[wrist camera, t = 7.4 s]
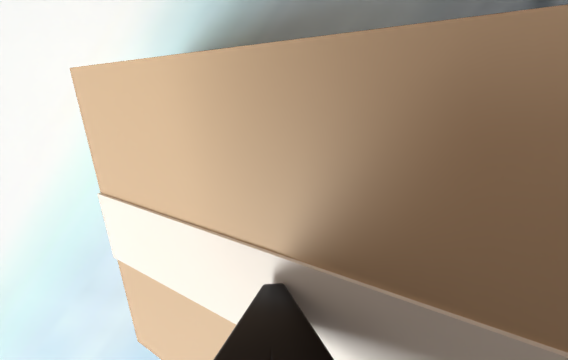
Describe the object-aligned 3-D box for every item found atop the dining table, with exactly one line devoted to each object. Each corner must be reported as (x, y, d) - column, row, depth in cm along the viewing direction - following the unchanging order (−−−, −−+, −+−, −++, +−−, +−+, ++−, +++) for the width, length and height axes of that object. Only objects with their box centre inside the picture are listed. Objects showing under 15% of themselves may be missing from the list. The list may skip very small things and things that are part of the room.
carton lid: (1179, -61, 2) (1423, -109, 2) (623, 673, 6) (637, 736, 5) (87, 68, 11) (65, 68, 10) (149, 331, 14) (135, 342, 14)
